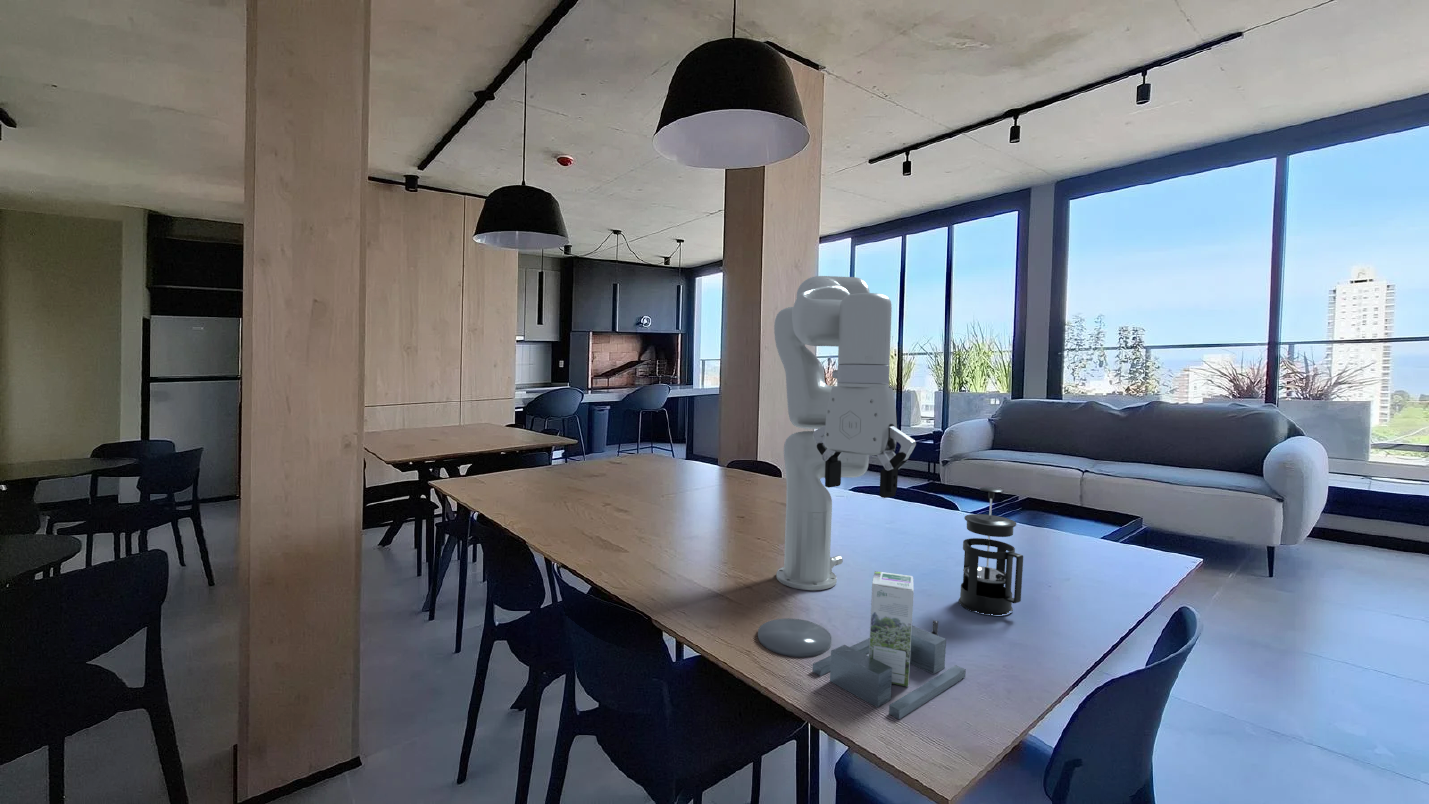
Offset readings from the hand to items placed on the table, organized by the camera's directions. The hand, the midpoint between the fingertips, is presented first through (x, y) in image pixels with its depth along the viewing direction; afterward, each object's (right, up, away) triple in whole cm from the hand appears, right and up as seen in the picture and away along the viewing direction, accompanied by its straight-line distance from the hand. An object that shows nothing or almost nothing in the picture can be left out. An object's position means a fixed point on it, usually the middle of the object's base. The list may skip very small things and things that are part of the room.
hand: (859, 491), depth 87 cm
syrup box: (+4, -27, -2) cm, 27 cm away
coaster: (-9, -26, +8) cm, 28 cm away
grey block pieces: (+6, -27, -1) cm, 27 cm away
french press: (+31, -26, +24) cm, 47 cm away
